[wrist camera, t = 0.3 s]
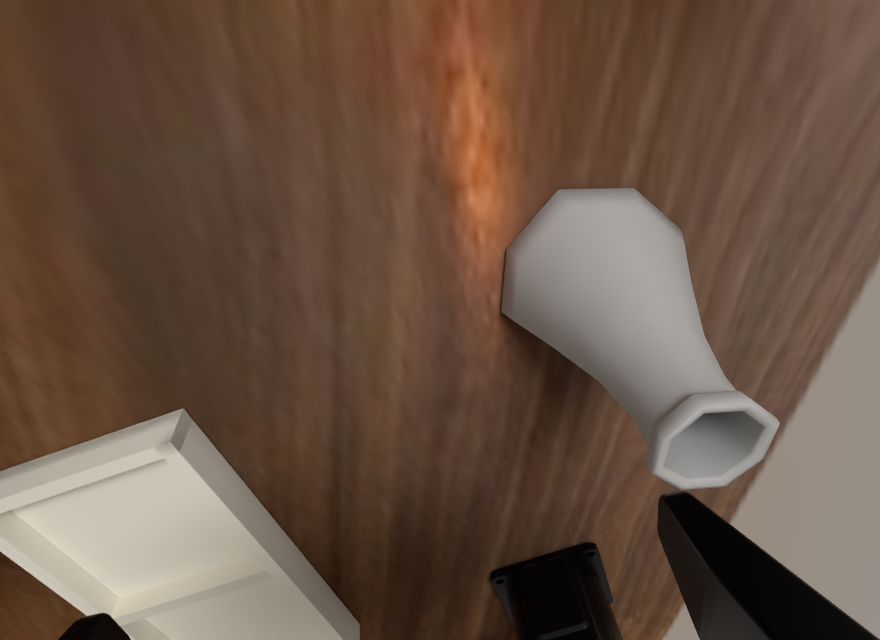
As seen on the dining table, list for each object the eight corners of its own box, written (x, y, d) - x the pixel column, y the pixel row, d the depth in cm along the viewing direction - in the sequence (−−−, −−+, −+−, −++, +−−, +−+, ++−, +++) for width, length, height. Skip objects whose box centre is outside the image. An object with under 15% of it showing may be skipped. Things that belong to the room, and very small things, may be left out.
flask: (471, 321, 23) (530, 522, 15) (544, 156, 20) (674, 299, 12) (619, 356, 25) (743, 552, 17) (709, 211, 22) (921, 368, 13)
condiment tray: (359, 624, 35) (359, 657, 33) (213, 668, 35) (205, 703, 34) (183, 408, 24) (169, 441, 22) (-21, 478, 25) (-48, 515, 23)
